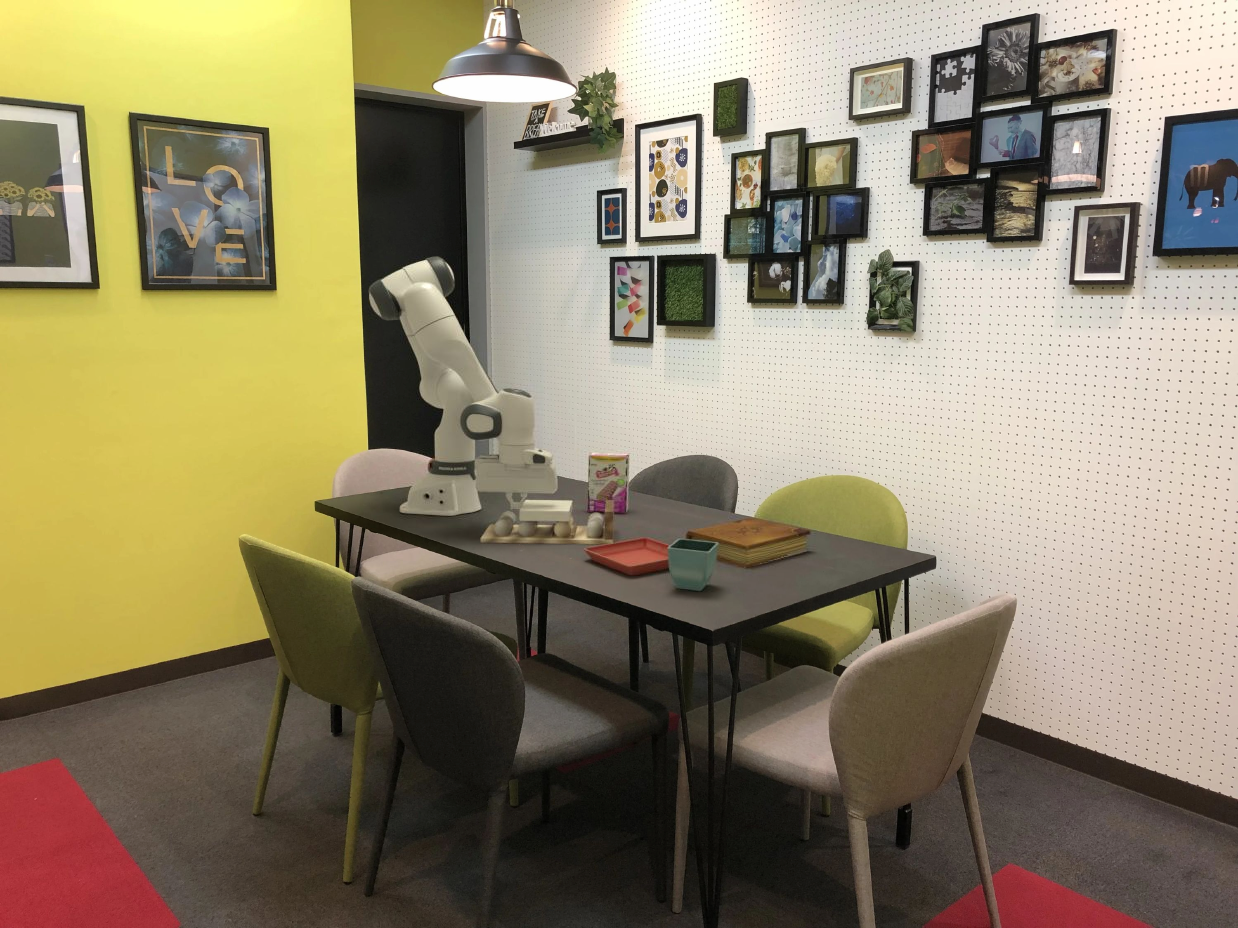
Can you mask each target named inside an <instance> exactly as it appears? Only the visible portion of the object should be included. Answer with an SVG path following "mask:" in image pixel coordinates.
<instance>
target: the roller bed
mask: <svg viewBox="0 0 1238 928" xmlns="http://www.w3.org/2000/svg"><path fill="white" fill-rule="evenodd" d="M516 521H517V516H516V514H515V513H513V512H512V511H511V510H507V511H504V512H502V513H501V514H500V516H499V517H498V520H497V521H496V522H495V524H489V525H488V527H487V528H486V530H485V531H484V533H483V534H482V535H481V537H480V543H494V544H495V543H499V544H501V543H502V544H506V543H508V544H556V545H557V544H567V545H605V544H610V543H614V534H615V533H614V532H615V513H614V500H606V507H605V513H604V515H602V513H599V512H591V514H590V515H589V516H588V520H587V525H578V523H574V524H573V525H572V527H571V531H570V534H569V535H568V536H567V537H564V538H561V537H558V536H557V535H556V534H555V532H554V527H555V524H556V523H552V525H550V524H549V525H548V524H547V525H545V524H539V523H540V521H520V524H515V523H516Z"/></svg>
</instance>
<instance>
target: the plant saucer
mask: <svg viewBox="0 0 1238 928" xmlns="http://www.w3.org/2000/svg"><path fill="white" fill-rule="evenodd" d="M670 545H671V544H668V543H664V542H660V541H658V540H655V539H652V538H649V537H639V538H635V539H628V540H624V541H622V540H621V541H617V542H613V543H610V544H598V545H595V546H588V547H585V548H583V550H584V552H585V553H586V554H587V555H588V556H589V558H590V559H591V560H592V561H594V562H595V563H598V564H601V565H603V566H605V567H608V568H610V569H613V570H616V571H618V572H621V573H623V574H625V575H628V576H637V575H641V574H648V573H652V572H653V573H654V572H657V571H662V570H667V569H669V562H668V549H667V548H668V547H669V546H670Z"/></svg>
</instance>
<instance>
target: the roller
mask: <svg viewBox="0 0 1238 928" xmlns="http://www.w3.org/2000/svg"><path fill="white" fill-rule="evenodd" d="M573 523H574V517H573V515H572V514H571V516H570V520H569V521H555V523H554V524H555V527H554V532H555V534H556V535H557V536H558V537H561V538H564V537H567V536H568V535H569V534H570V531H571V527H572V526H573V525H574V524H573Z"/></svg>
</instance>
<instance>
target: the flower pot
mask: <svg viewBox="0 0 1238 928" xmlns="http://www.w3.org/2000/svg"><path fill="white" fill-rule="evenodd" d="M669 545H670V546H669V547H668V548H667V549H668V562H669V574H670V577H671V580H672V582H673V584H674V585H675V587H676V588H677V589H680V590H689V591H697V592H701V591H703V590H704V588H706V586H707V585H708V583H709V582H710V580H711V578H712V575H713V574H714V571H715V567H716V564H717V560H716V558H717V552H718V545H719V543H717V542H708V541H699V540H689V539H686V538H677V539H676V540H675V541H674V542H672V544H669Z"/></svg>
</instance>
